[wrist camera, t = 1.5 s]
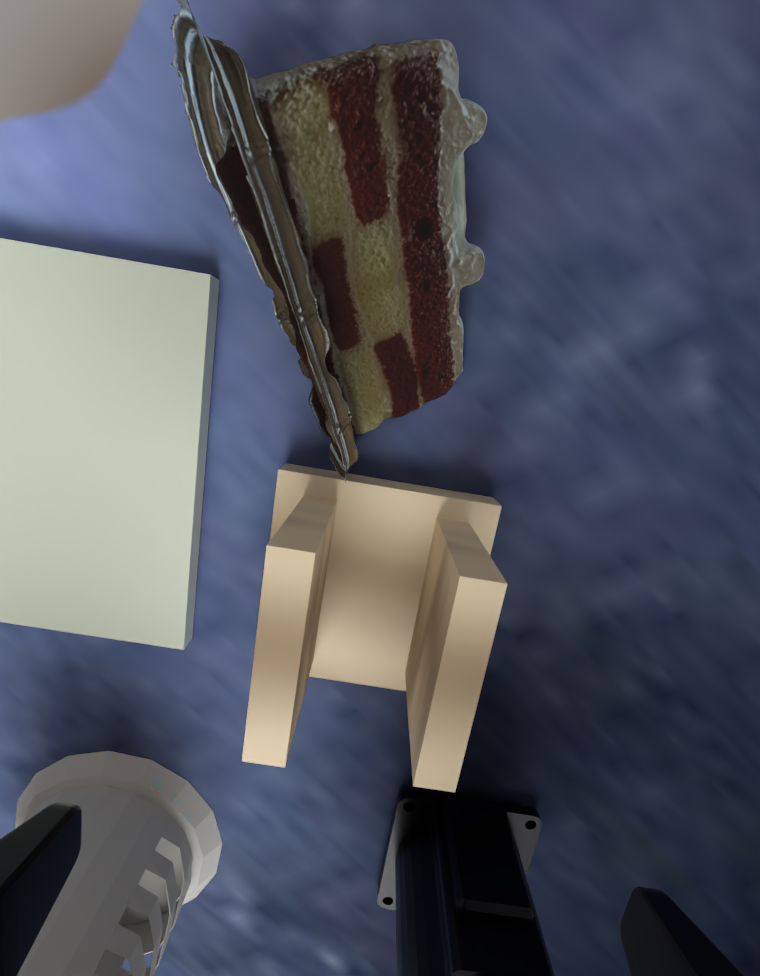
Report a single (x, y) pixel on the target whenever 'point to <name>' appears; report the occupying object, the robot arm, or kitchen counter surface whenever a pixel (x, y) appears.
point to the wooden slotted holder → (376, 609)
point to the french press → (120, 863)
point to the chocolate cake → (347, 212)
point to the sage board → (102, 442)
